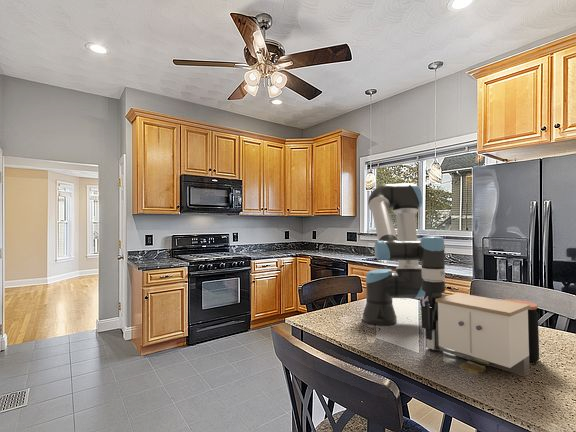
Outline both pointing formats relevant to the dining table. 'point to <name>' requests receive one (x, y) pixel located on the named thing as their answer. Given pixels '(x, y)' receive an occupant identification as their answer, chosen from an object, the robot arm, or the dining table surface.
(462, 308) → the toe-kick cabinet
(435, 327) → the grey post with bar
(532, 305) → the coffee jar
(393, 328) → the dining table surface
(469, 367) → the brass block
